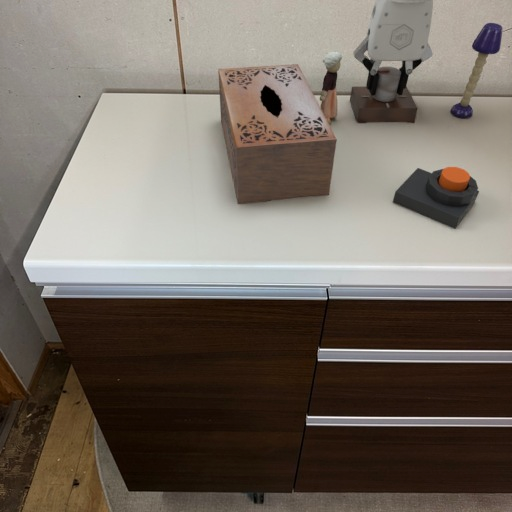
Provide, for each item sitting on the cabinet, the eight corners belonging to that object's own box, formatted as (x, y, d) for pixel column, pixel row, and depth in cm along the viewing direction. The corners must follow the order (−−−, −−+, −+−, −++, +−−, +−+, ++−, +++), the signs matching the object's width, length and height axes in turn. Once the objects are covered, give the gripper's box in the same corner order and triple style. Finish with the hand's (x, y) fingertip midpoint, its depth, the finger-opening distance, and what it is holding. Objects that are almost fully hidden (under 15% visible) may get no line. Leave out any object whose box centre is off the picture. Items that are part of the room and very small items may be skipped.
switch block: (475, 201, 73) (484, 180, 71) (454, 229, 69) (463, 208, 66) (415, 177, 78) (421, 156, 75) (392, 202, 73) (397, 181, 70)
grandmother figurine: (334, 129, 89) (343, 61, 80) (314, 126, 89) (321, 59, 80) (338, 109, 94) (346, 44, 85) (318, 107, 94) (325, 42, 85)
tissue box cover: (328, 195, 74) (336, 139, 67) (237, 203, 73) (236, 147, 66) (294, 114, 92) (297, 64, 85) (221, 120, 91) (218, 69, 84)
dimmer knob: (390, 90, 93) (395, 63, 89) (399, 100, 90) (405, 73, 86) (368, 92, 92) (373, 65, 89) (377, 103, 89) (382, 75, 86)
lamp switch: (470, 182, 71) (474, 173, 69) (460, 195, 68) (464, 185, 67) (444, 173, 72) (448, 163, 71) (434, 185, 70) (437, 175, 69)
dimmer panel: (403, 100, 97) (406, 85, 94) (414, 122, 90) (418, 107, 88) (349, 100, 97) (352, 85, 94) (356, 122, 90) (359, 107, 88)
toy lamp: (477, 112, 93) (510, 23, 81) (471, 122, 90) (504, 32, 79) (453, 106, 95) (482, 18, 83) (446, 115, 92) (475, 26, 80)
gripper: (360, -6, 75) (344, 102, 88) (465, -7, 75) (434, 100, 88) (351, -20, 80) (337, 84, 93) (449, -21, 81) (422, 82, 94)
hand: (385, 91), depth 91 cm, fingers closed on dimmer knob, 4 cm apart
